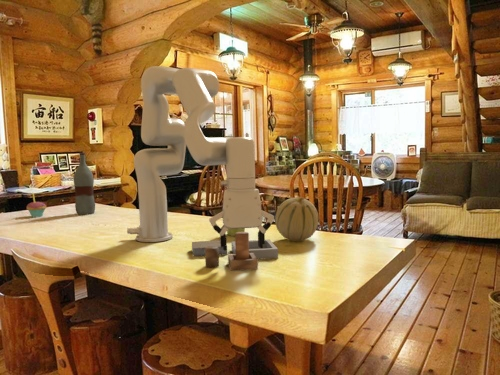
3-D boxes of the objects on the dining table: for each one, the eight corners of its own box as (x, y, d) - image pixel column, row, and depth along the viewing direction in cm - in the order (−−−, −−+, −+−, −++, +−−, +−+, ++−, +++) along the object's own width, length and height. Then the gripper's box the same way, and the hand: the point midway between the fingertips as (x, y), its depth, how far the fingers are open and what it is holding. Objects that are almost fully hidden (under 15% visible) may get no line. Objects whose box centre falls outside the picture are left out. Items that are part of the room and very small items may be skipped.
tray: (236, 260, 115) (236, 251, 115) (231, 250, 127) (231, 241, 127) (278, 258, 117) (277, 248, 117) (269, 247, 129) (269, 239, 129)
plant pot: (245, 237, 144) (245, 213, 143) (219, 236, 146) (219, 212, 145) (251, 232, 153) (250, 209, 152) (226, 231, 155) (226, 208, 154)
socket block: (231, 270, 106) (230, 261, 106) (228, 263, 113) (228, 254, 113) (257, 269, 107) (257, 259, 107) (253, 261, 114) (253, 252, 114)
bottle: (88, 215, 198) (84, 152, 194) (71, 214, 200) (67, 153, 197) (99, 212, 207) (96, 152, 203) (83, 211, 209) (79, 152, 206)
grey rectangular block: (193, 258, 120) (193, 248, 120) (192, 251, 128) (191, 241, 128) (227, 256, 122) (227, 246, 122) (223, 249, 130) (223, 240, 130)
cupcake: (41, 217, 193) (39, 192, 192) (23, 217, 194) (21, 192, 192) (50, 214, 202) (48, 190, 201) (33, 214, 202) (31, 190, 201)
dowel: (236, 268, 108) (236, 235, 107) (235, 264, 112) (234, 232, 111) (250, 267, 109) (249, 234, 108) (248, 263, 112) (247, 231, 111)
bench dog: (205, 268, 109) (205, 249, 108) (205, 264, 112) (204, 246, 112) (219, 267, 109) (219, 248, 109) (218, 263, 113) (217, 245, 112)
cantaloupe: (290, 233, 149) (290, 192, 147) (326, 239, 140) (326, 195, 138) (266, 241, 138) (265, 197, 136) (303, 248, 128) (303, 200, 127)
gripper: (208, 187, 103) (211, 253, 104) (276, 184, 105) (277, 249, 107) (207, 184, 110) (209, 246, 112) (270, 182, 113) (271, 243, 115)
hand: (242, 248), depth 109 cm, fingers open, 9 cm apart
